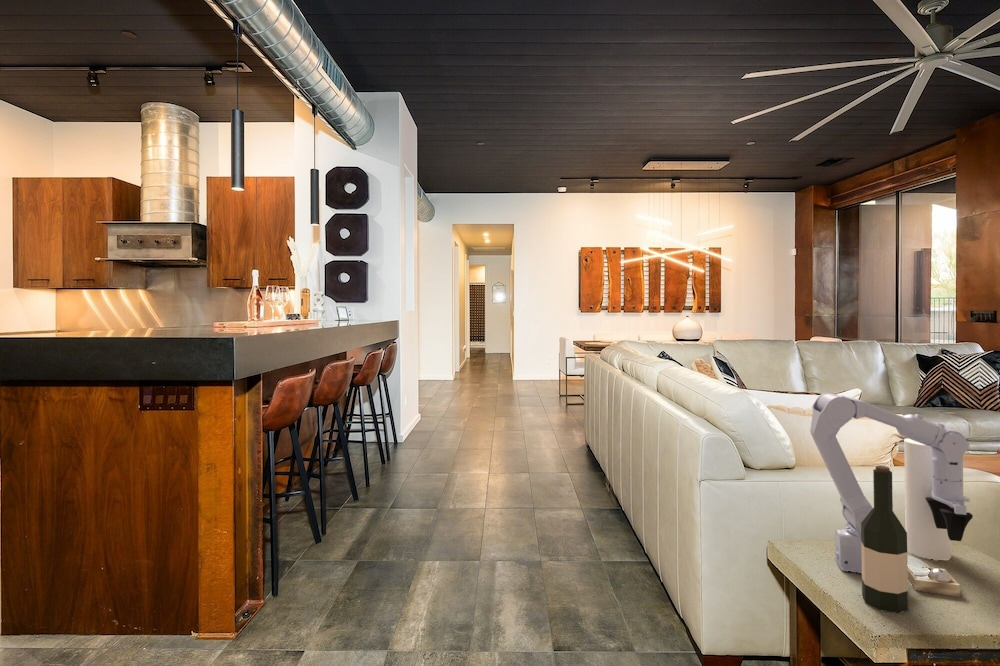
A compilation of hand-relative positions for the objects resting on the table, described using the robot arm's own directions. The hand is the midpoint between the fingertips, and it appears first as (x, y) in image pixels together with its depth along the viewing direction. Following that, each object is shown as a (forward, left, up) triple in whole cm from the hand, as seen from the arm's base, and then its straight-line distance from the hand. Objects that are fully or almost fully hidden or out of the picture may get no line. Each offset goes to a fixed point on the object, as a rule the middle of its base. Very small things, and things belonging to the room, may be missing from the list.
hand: (948, 534), depth 128 cm
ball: (-5, -9, -7) cm, 13 cm away
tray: (-6, -8, -10) cm, 14 cm away
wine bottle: (-18, -20, -10) cm, 29 cm away
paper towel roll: (0, +13, -10) cm, 16 cm away
